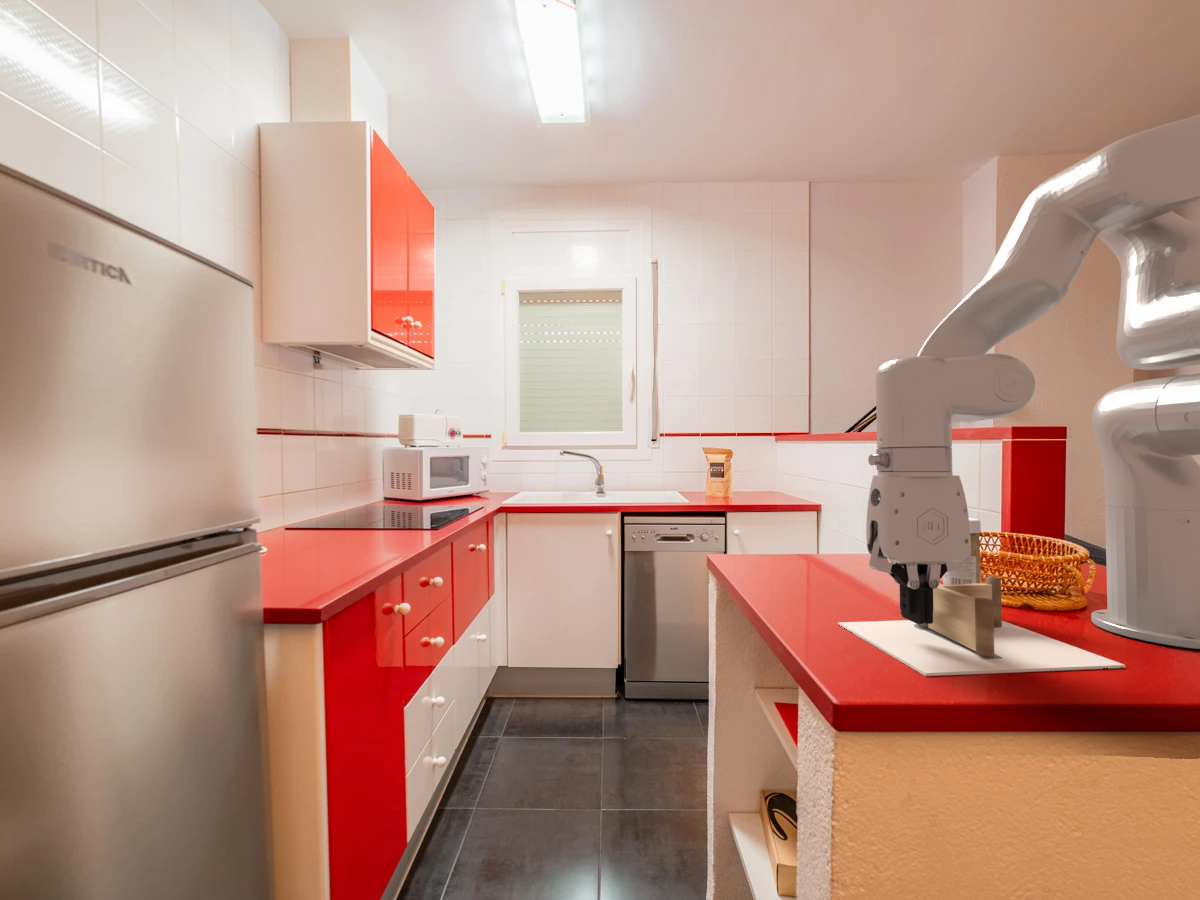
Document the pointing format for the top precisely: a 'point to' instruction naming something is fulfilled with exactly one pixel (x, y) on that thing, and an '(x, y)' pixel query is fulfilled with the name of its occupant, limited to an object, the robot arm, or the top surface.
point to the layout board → (952, 658)
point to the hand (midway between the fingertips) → (916, 620)
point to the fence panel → (964, 619)
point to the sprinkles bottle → (968, 560)
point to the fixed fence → (980, 595)
